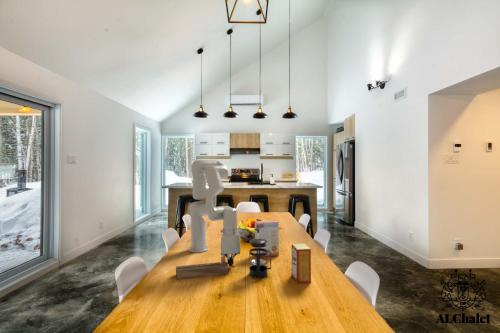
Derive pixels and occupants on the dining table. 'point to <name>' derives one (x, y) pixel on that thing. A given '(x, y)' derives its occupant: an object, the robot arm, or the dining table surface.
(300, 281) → the baking soda box
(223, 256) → the tab
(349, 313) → the dining table surface
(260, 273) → the french press
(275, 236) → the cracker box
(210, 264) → the tongs jaw
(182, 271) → the tongs fixed jaw
